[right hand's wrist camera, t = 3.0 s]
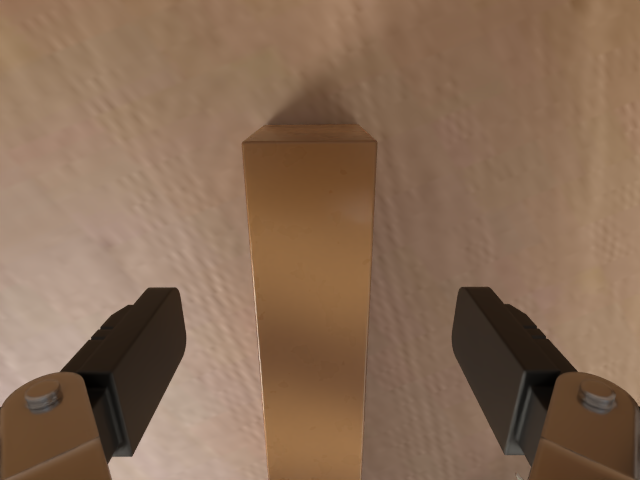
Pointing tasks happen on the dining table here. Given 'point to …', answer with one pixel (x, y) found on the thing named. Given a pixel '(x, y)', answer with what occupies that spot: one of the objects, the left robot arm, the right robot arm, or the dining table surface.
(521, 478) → the toy
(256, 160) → the post
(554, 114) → the dining table surface
